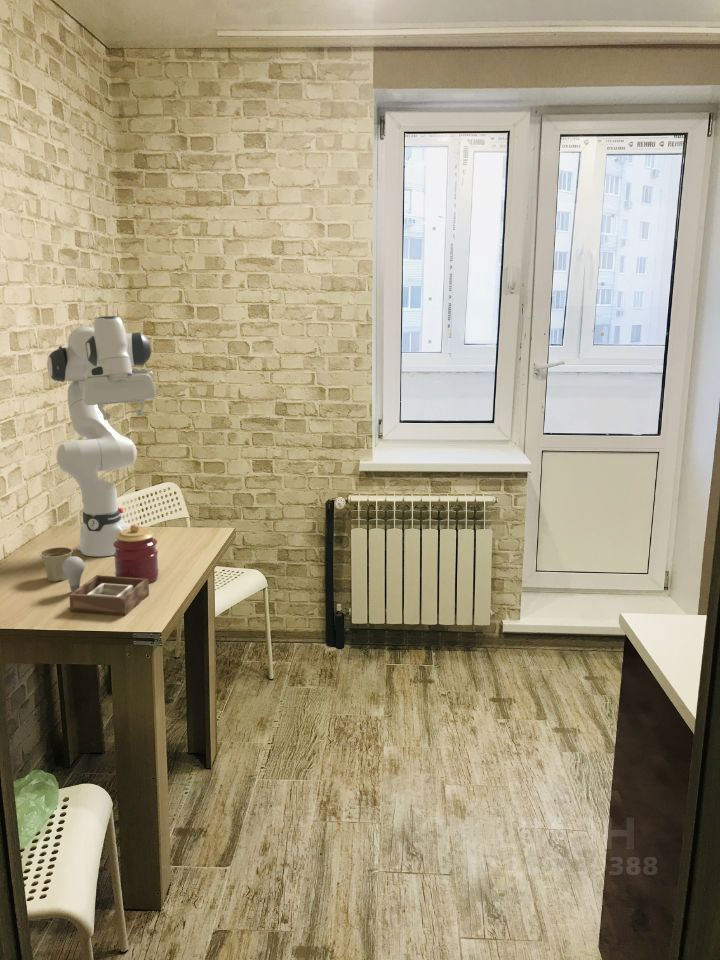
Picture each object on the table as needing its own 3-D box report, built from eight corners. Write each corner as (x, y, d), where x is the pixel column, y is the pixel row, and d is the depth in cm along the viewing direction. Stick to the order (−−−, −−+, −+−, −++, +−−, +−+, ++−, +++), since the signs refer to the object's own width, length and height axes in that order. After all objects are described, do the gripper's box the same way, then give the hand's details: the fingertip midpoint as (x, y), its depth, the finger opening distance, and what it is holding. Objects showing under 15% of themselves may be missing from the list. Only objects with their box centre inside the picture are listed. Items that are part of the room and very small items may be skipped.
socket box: (97, 591, 231) (96, 575, 230) (149, 594, 229) (148, 578, 228) (70, 611, 216) (69, 594, 215) (125, 616, 214) (124, 598, 213)
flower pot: (38, 584, 236) (36, 557, 234) (45, 573, 245) (43, 547, 243) (71, 583, 238) (69, 556, 236) (77, 572, 247) (75, 546, 245)
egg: (74, 587, 234) (72, 552, 232) (90, 590, 232) (88, 555, 230) (59, 594, 229) (57, 558, 226) (76, 597, 226) (73, 561, 224)
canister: (114, 588, 234) (111, 531, 230) (115, 573, 246) (112, 519, 242) (159, 584, 238) (157, 528, 234) (158, 570, 250) (156, 517, 246)
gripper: (149, 370, 233) (156, 416, 233) (78, 375, 224) (85, 423, 224) (154, 365, 228) (161, 412, 228) (81, 370, 218) (89, 419, 218)
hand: (123, 417), depth 225 cm, fingers open, 8 cm apart
